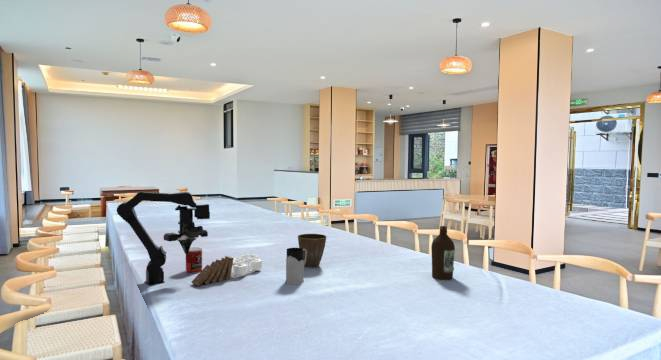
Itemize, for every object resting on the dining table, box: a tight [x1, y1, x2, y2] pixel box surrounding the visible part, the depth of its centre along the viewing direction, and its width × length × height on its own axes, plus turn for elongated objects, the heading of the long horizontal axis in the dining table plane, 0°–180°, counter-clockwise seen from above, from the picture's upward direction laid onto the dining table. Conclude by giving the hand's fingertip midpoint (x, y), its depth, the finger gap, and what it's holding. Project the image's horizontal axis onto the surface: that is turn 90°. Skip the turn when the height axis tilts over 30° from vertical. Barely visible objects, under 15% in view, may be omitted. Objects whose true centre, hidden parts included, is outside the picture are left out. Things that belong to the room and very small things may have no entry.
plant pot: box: [297, 233, 327, 269], centre depth 212 cm, size 15×15×16 cm
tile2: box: [202, 261, 220, 285], centre depth 182 cm, size 2×5×10 cm
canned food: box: [185, 246, 203, 274], centre depth 201 cm, size 8×8×11 cm
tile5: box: [222, 255, 234, 281], centre depth 188 cm, size 2×5×10 cm, turn 42°
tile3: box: [209, 258, 225, 284], centre depth 184 cm, size 2×5×10 cm
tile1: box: [191, 264, 214, 288], centre depth 179 cm, size 2×5×10 cm
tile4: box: [216, 257, 230, 282], centre depth 186 cm, size 2×5×10 cm, turn 42°
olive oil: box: [430, 225, 456, 281], centre depth 191 cm, size 11×11×25 cm
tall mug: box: [284, 247, 307, 285], centre depth 186 cm, size 9×14×15 cm, turn 152°
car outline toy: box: [230, 253, 263, 279], centre depth 197 cm, size 20×11×7 cm, turn 150°
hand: (186, 253), depth 185 cm, fingers closed
